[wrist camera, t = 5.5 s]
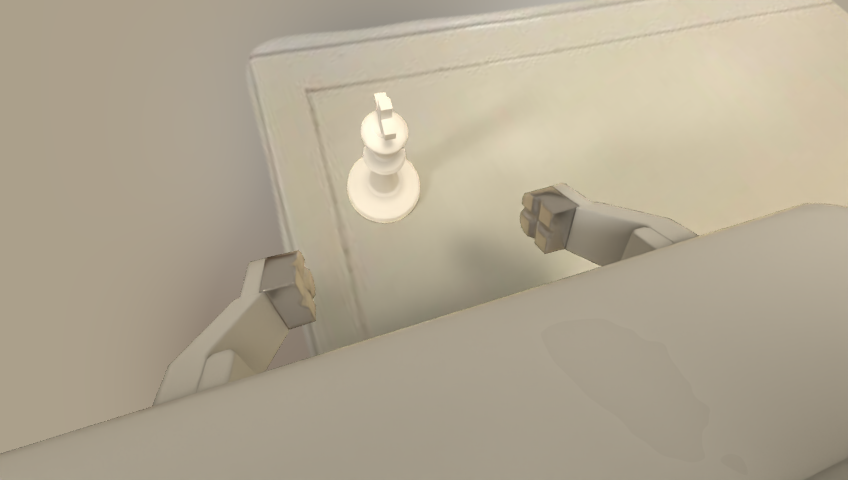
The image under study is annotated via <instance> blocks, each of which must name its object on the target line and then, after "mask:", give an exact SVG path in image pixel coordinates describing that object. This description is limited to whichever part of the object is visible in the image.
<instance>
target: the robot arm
mask: <svg viewBox="0 0 848 480" xmlns="http://www.w3.org/2000/svg"><path fill="white" fill-rule="evenodd" d="M522 204H523V205H524V207H525V208H524V209H523V210H522V212H521V213H520V223H521V227H522V229H523V231H524V233H525V234H526V235H527V236H529V237H532V238H535V241H534V243H535V244H536V245H537V246H538V247H539V248H540V250H541V251H542V252H543V253H544V254H547V253H550V252H554V251H558V250H562V249H565V250H568V251H570V252H572V253H574V254H576V255H578V256H581V257H583V258H585V259H587V260H589V261H591V262H594V263H596V264H598V265H600V266H602V267H599V268H595V269H592V270H589V271H586V272H583V273H580V274H576V275H573V276H570V277H567V278H563V279H560V280H557V281H554V282H550V283H547V284H544V285H541V286H538V287H534V288H531V289H528V290H525V291H521V292H518V293H515V294H512V295H508V296H505V297H502V298H499V299H496V300H492V301H489V302H486V303H483V304H480V305H476V306H473V307H470V308H467V309H464V310H460V311H457V312H454V313H451V314H448V315H444V316H441V317H438V318H435V319H432V320H428V321H425V322H422V323H419V324H416V325H412V326H409V327H406V328H403V329H400V330H396V331H393V332H390V333H387V334H384V335H380V336H377V337H374V338H371V339H367V340H364V341H361V342H358V343H355V344H351V345H348V346H345V347H342V348H339V349H335V350H332V351H329V352H326V353H323V354H319V355H316V356H313V357H310V358H307V359H303V360H300V361H297V362H294V363H291V364H288V365H284V366H281V367H278V368H275V369H271V370H268V371H266V370H267V368H268V366H269V364H270V363H271V361H272V359H273V358H274V356H275V354H276V353H277V351H278V349H279V348H280V346H281V344H282V343H283V341H284V339H285V338H286V336H287V334H288V333H289V329H292V328H296V327H299V326H302V325H305V324H308V323H311V322H314V321H316V305H315V303H314V301H313V298H314V297H315V285H314V280H313V277H312V274H311V272H310V270H309V269H308V268H306V267H304V261H305V259H304V257H303V255H302V253H301V252H300V251H299V250H297V251H293V252H288V253H284V254H280V255H276V256H271V257H267V258H263V259H259V260H255V261H251V262H250V263H249V264H248V267H247V271H246V275H245V279H244V283H243V287H242V291H241V295H240V298H238V299H235V300H234V301H233V302H232V303H231V304H230V305H229V306H228V307H227V308H226V309H225V310H224V311H223V312H222V313H221V314H220V315H219V316H218V317H217V318H216V319H215V320H214V321H213V322H212V323H211V324H210V325H209V326H208V327H207V328H206V329H205V330H204V331H203V332H202V333H201V334H200V335H199V336H198V337H197V338H196V339H195V340H194V341H192V342H191V344H190V345H188V347H186V349H184V351H183V352H181V354H179V356H178V357H176V359H174V361H172V362H171V364H169V366H168V368H167V370H166V373H165V375H164V378H163V380H162V383H161V385H160V388H159V390H158V393H157V395H156V398H155V400H154V403H153V405H152V407H149V408H146V409H143V410H139V411H136V412H133V413H130V414H127V415H124V416H120V417H117V418H114V419H111V420H107V421H104V422H101V423H98V424H94V425H91V426H88V427H85V428H82V429H78V430H75V431H72V432H69V433H66V434H62V435H59V436H56V437H53V438H49V439H46V440H43V441H40V442H37V443H33V444H30V445H27V446H24V447H20V448H18V449H14V450H11V451H7V452H4V453H1V454H0V480H848V207H845V206H839V205H832V204H823V203H806V204H801V205H797V206H794V207H791V208H788V209H784V210H781V211H778V212H775V213H772V214H769V215H765V216H762V217H759V218H756V219H752V220H749V221H746V222H743V223H740V224H736V225H733V226H730V227H727V228H724V229H720V230H717V231H714V232H711V233H708V234H704V235H701V236H699V235H697V234H695V233H694V232H692V231H690V230H689V229H687V228H685V227H684V226H682V225H680V224H678V223H677V222H675V221H673V220H672V219H670V218H665V217H661V216H657V215H652V214H648V213H644V212H639V211H635V210H630V209H626V208H622V207H617V206H613V205H609V204H604V203H600V202H594V203H593V202H591V201H590V200H588V199H587V198H586V197H584V196H583V195H581V194H580V193H578V192H577V191H575V190H574V189H572V188H571V187H569V186H568V185H567V184H564V183H559V184H556V185H552V186H549V187H547V188H543V189H539V190H535V191H531V192H528V193H525V194H524V196H523V198H522Z"/></svg>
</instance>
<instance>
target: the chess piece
mask: <svg viewBox="0 0 848 480" xmlns="http://www.w3.org/2000/svg"><path fill="white" fill-rule="evenodd" d="M374 101H375V104H376V108H377V110H375V111H373V112H371V113H370V114H368V115H367V116H366V117H365V119H364V120H363V122H362V125H361V137H362V140H363V142H364V144H365V146H364V149H363V156H362V157H361V158H360V159H359V160H357V161H356V163H355V164H354V165H353V167H352V168H351V170H350V173H349V176H348V181H347V192H348V197H349V200H350V202H351V204H352V206H353V207H354V208H355V210H356V211H357V212H358V213H359V214H360V215H362V216H363V217H365V218H367V219H369V220H371V221H374V222H378V223H390V222H395V221H398V220H400V219H402V218H404V217H405V216H407V215H408V214H409V213H410V212H411V211H412V210H413V209H414V207H415V206H416V204H417V202H418V199H419V195H420V181H419V177H418V174H417V171H416V169H415V168H414V166H413V165H412V164H411V163H410V162H409V161H408V160H407V159H406V153H405V149H404V146H405V144H406V142H407V139H408V127H407V124H406V122H405V121H404V119H403V118H402V117H401V116H400V115H399V114H397V113H396V112H394V111H393V108H392V104H391V100H390V97H389V98H387V96H386V93H385V92H382V93H376V94H374Z"/></svg>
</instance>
